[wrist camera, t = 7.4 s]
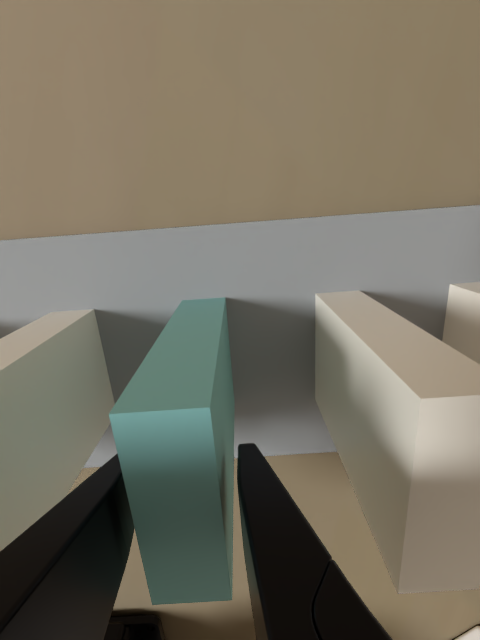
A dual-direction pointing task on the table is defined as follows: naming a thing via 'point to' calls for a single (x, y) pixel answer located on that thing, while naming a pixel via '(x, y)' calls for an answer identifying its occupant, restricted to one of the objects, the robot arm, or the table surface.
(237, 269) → the runner mat
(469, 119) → the table surface
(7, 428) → the domino
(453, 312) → the domino
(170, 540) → the domino
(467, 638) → the jar
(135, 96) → the table surface
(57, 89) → the table surface
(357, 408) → the domino
